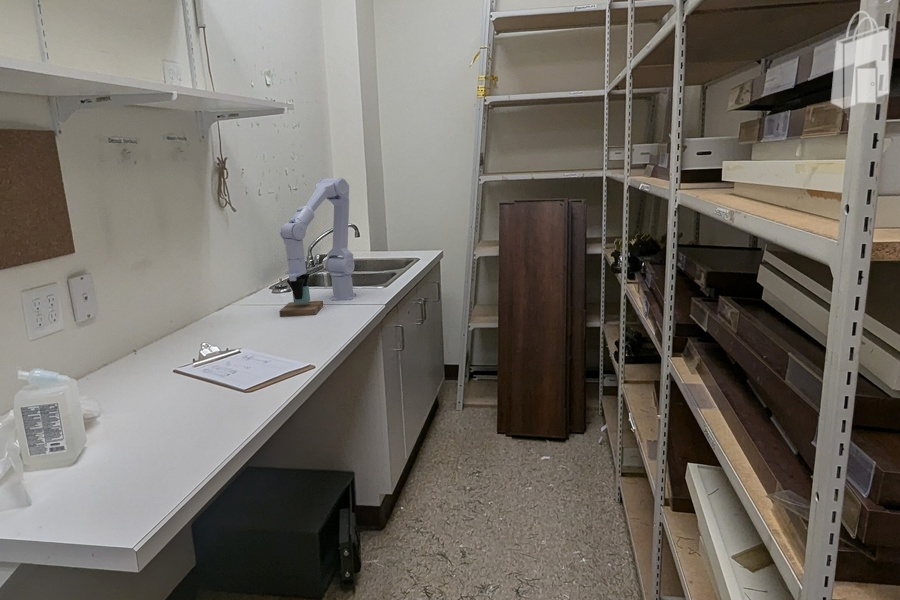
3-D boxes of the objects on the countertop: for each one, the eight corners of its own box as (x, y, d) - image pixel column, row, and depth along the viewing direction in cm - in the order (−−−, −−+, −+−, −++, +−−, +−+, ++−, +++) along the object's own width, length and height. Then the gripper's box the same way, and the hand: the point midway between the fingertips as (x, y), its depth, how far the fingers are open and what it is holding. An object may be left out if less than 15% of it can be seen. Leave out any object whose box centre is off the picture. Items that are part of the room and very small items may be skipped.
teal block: (297, 300, 199) (295, 286, 198) (310, 300, 199) (308, 286, 198) (293, 303, 195) (292, 289, 194) (307, 303, 195) (305, 288, 194)
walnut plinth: (289, 307, 204) (289, 302, 203) (323, 306, 204) (322, 300, 203) (280, 316, 192) (279, 311, 192) (315, 314, 192) (315, 309, 192)
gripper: (289, 255, 201) (294, 293, 204) (278, 262, 187) (283, 303, 190) (310, 254, 201) (314, 292, 204) (299, 261, 187) (304, 302, 190)
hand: (300, 297), depth 197 cm, fingers closed on teal block, 4 cm apart
